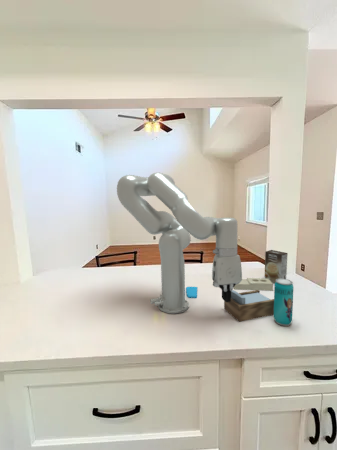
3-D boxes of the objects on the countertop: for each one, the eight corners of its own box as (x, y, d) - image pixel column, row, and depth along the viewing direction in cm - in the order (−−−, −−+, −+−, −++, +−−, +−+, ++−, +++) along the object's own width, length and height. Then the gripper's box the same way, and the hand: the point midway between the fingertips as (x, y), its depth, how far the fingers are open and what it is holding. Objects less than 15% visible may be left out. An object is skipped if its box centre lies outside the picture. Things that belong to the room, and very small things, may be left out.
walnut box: (239, 321, 76) (239, 306, 76) (224, 308, 86) (224, 295, 85) (275, 314, 81) (276, 300, 80) (257, 302, 90) (257, 290, 90)
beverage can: (284, 328, 71) (285, 285, 70) (269, 320, 77) (270, 279, 75) (295, 324, 74) (297, 282, 72) (281, 316, 79) (282, 277, 78)
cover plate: (241, 308, 78) (242, 298, 77) (230, 299, 84) (230, 290, 84) (271, 302, 81) (271, 293, 81) (258, 295, 88) (258, 286, 88)
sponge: (183, 296, 96) (196, 295, 95) (185, 286, 108) (197, 285, 107) (183, 299, 96) (197, 299, 95) (186, 289, 108) (197, 288, 107)
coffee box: (263, 280, 116) (264, 251, 115) (270, 277, 120) (271, 249, 118) (280, 285, 109) (281, 254, 107) (286, 282, 112) (288, 252, 111)
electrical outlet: (232, 277, 111) (268, 278, 109) (231, 284, 112) (268, 286, 109) (234, 282, 104) (273, 283, 102) (234, 290, 105) (273, 291, 102)
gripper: (212, 256, 72) (213, 308, 74) (250, 252, 76) (250, 301, 78) (203, 251, 79) (203, 299, 81) (238, 248, 83) (237, 293, 85)
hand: (226, 300), depth 79 cm, fingers closed
